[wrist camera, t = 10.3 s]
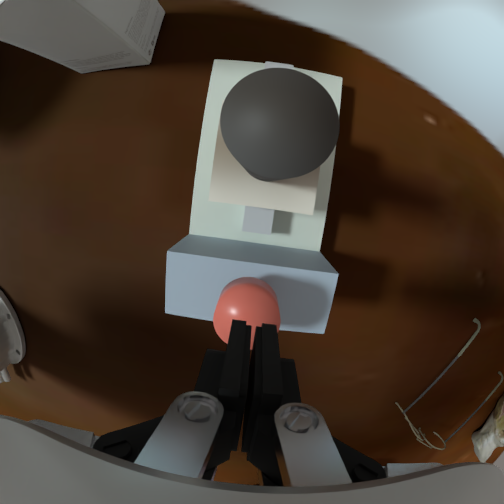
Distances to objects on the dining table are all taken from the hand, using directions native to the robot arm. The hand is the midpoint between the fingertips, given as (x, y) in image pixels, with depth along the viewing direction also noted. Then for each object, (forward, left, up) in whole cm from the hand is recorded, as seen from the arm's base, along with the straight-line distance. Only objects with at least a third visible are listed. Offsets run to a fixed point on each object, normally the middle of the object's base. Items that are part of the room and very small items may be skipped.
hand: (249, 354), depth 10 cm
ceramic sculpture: (-23, -47, -14) cm, 54 cm away
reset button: (0, 0, -5) cm, 5 cm away
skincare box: (+19, +15, -13) cm, 28 cm away
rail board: (+7, 0, -13) cm, 15 cm away
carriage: (+8, 0, -11) cm, 14 cm away
